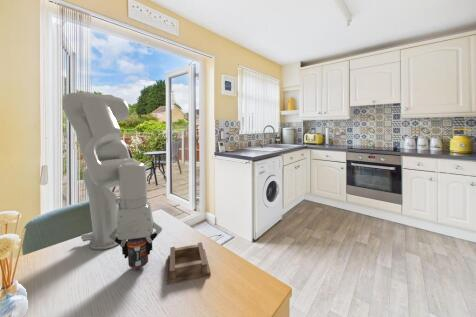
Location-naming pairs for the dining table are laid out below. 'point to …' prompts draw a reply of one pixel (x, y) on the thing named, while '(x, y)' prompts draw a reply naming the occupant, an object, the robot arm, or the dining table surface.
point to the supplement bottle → (137, 252)
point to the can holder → (187, 263)
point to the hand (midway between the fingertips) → (138, 253)
